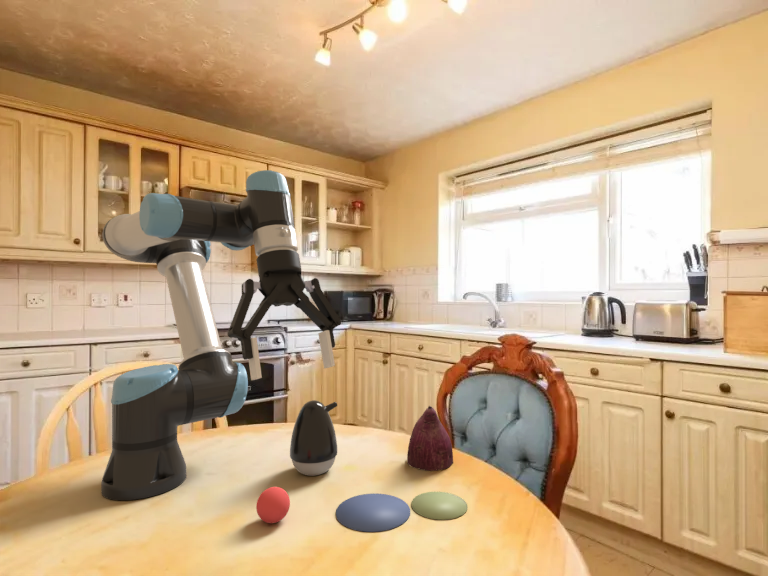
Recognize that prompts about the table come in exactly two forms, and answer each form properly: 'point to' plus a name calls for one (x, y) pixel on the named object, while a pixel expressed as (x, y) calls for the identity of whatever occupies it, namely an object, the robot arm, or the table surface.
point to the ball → (273, 504)
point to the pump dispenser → (313, 439)
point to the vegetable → (429, 444)
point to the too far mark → (439, 505)
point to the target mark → (373, 512)
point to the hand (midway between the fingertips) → (295, 373)
